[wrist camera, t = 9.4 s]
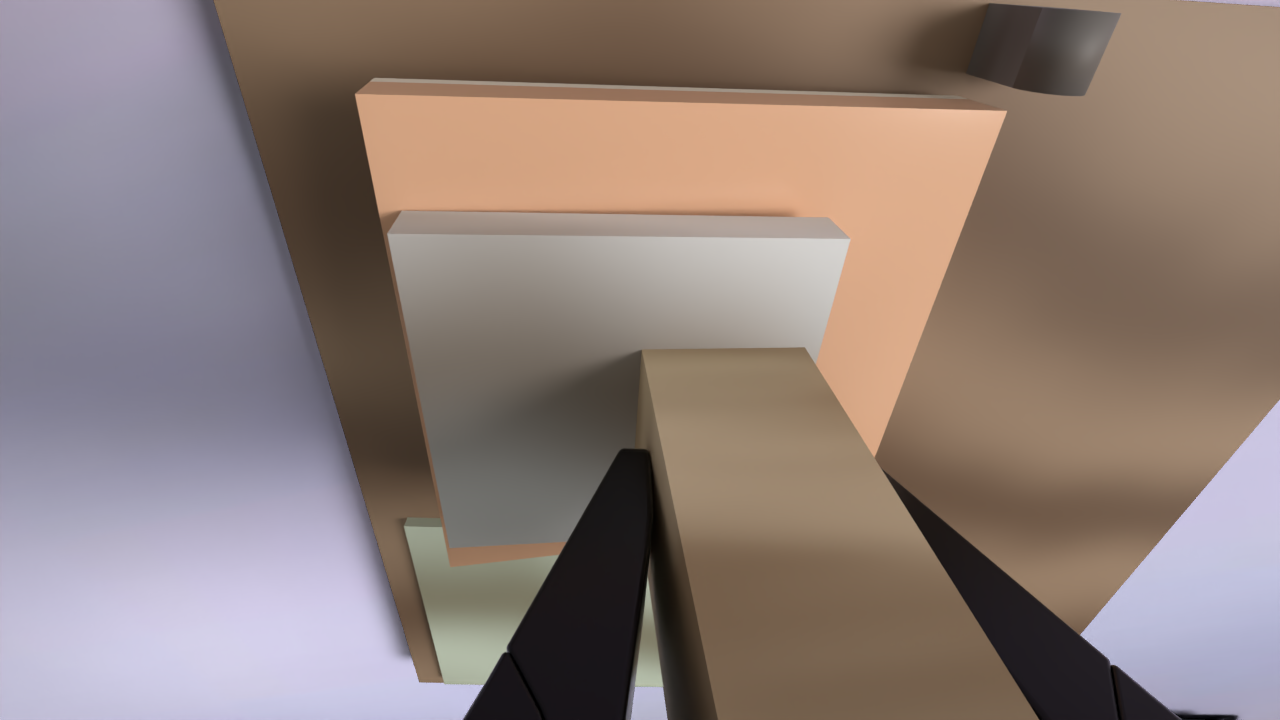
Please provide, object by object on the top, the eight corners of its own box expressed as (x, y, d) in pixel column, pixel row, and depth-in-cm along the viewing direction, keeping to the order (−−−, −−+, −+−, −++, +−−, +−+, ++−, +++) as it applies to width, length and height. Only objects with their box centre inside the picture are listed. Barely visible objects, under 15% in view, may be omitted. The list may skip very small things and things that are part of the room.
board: (1017, 663, 22) (1065, 748, 19) (427, 653, 21) (401, 742, 19) (1516, 23, 10) (1788, 40, 8) (232, -63, 9) (92, -75, 7)
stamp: (758, 499, 12) (999, 1161, 5) (455, 513, 11) (305, 1303, 5) (828, 217, 8) (1725, 1077, 2) (401, 210, 8) (-469, 1574, 1)
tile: (450, 567, 12) (454, 521, 13) (850, 521, 14) (827, 483, 15) (354, 94, 7) (374, 78, 8) (1007, 110, 9) (956, 95, 10)
